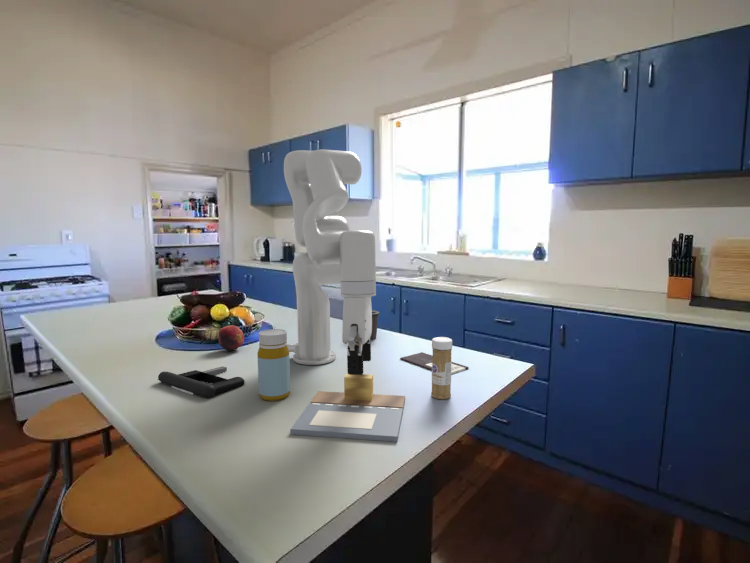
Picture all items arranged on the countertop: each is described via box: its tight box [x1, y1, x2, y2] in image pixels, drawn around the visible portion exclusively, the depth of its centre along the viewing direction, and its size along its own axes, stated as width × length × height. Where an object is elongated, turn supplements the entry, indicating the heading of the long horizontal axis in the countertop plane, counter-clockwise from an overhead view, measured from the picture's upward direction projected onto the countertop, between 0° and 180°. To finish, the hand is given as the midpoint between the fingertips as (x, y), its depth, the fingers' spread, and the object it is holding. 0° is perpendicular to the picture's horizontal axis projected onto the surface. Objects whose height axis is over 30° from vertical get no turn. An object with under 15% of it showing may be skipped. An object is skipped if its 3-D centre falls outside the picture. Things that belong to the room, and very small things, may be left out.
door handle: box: [157, 366, 246, 399], centre depth 103 cm, size 3×20×16 cm
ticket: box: [289, 402, 404, 443], centre depth 81 cm, size 20×12×1 cm, turn 81°
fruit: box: [218, 324, 245, 352], centre depth 131 cm, size 8×8×8 cm
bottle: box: [257, 328, 291, 402], centre depth 94 cm, size 7×7×15 cm
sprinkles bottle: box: [430, 336, 453, 400], centre depth 93 cm, size 5×5×14 cm
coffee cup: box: [370, 309, 381, 341], centre depth 145 cm, size 8×8×10 cm
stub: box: [309, 373, 406, 409], centre depth 90 cm, size 20×6×6 cm, turn 81°
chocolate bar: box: [400, 352, 470, 375], centre depth 117 cm, size 9×1×18 cm
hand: (359, 367), depth 89 cm, fingers open, 9 cm apart
